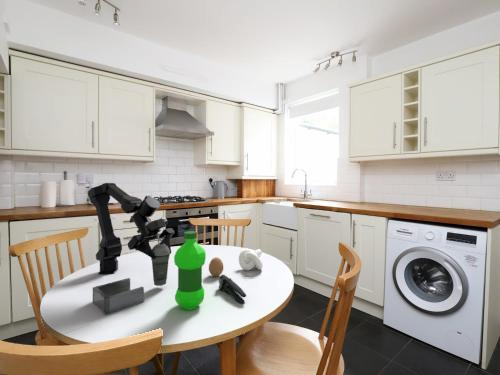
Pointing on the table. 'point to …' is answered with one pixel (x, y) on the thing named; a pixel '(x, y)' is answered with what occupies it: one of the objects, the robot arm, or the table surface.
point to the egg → (216, 266)
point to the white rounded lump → (250, 259)
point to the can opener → (231, 288)
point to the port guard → (116, 296)
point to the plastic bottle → (190, 272)
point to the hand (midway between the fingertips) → (162, 255)
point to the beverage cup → (160, 263)
